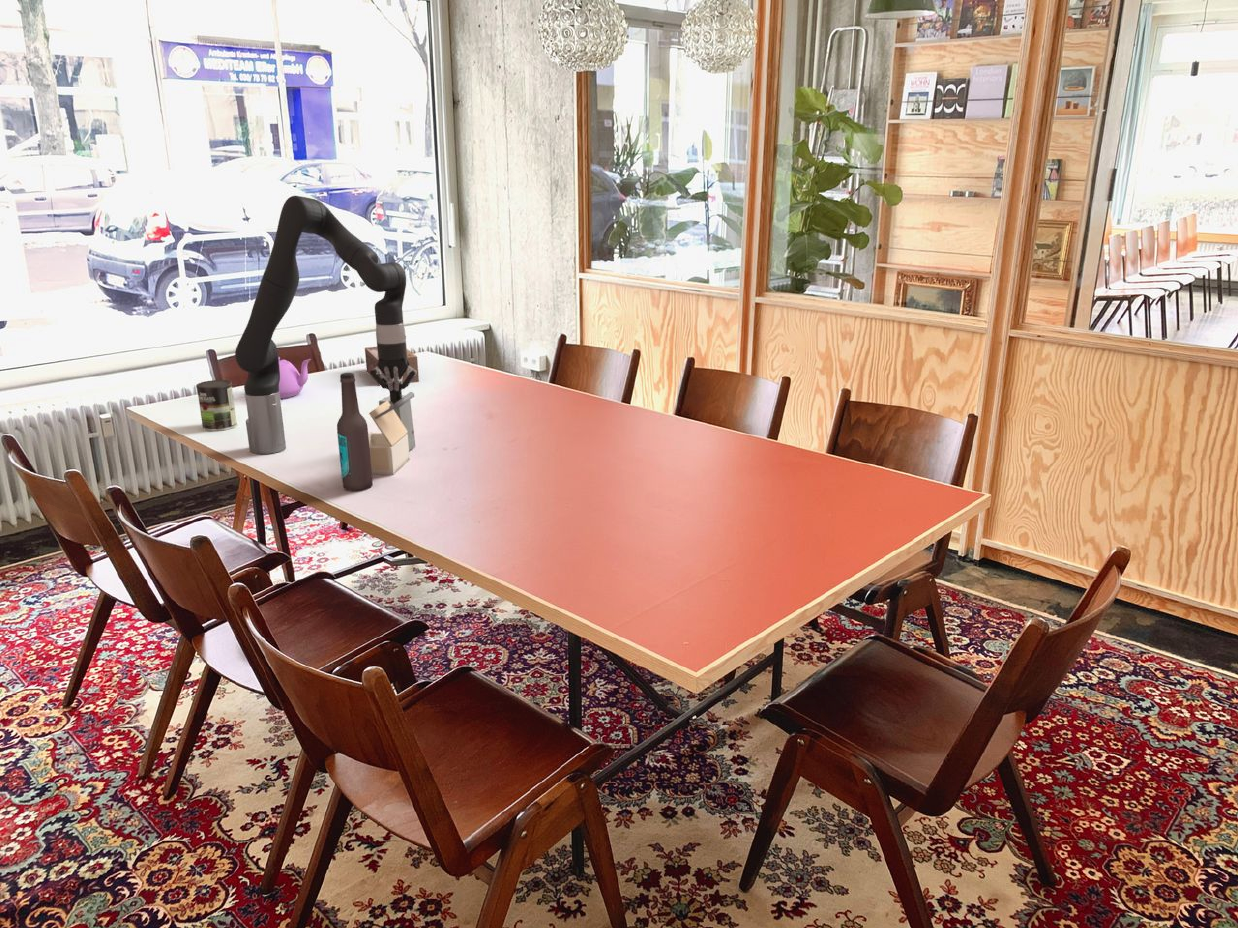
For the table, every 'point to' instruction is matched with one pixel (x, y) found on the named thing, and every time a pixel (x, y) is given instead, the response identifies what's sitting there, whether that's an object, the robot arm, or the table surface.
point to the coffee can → (216, 405)
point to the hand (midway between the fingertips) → (396, 403)
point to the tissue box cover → (373, 359)
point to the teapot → (291, 378)
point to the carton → (387, 454)
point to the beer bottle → (353, 440)
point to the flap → (390, 419)
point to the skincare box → (404, 419)
